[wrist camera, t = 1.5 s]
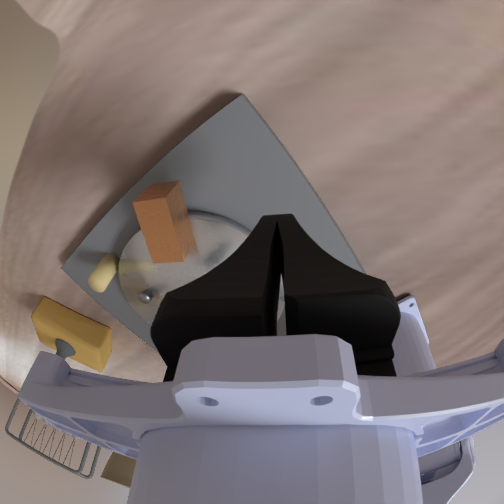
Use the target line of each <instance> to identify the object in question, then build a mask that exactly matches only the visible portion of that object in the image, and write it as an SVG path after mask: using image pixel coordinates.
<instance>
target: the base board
mask: <svg viewBox="0 0 504 504" xmlns="http://www.w3.org/2000/svg"><path fill="white" fill-rule="evenodd" d="M177 180H180V182H181V187H182V191H183V195H184V199H185V203H186V208H187V212H202V213H208V214H213V215H217V216H220V217H223V218H226V219H229V220H231V221H234V222H236V223H238V224H240V225H242V226H243V227H245V228H247V229H248V230H250V231H251V232H252V230H253V229H254V227H255V226H256V225H257V223H258V221H259V220H260V218H261V217H262V216H263V215H275V214H291V213H292V214H293V215H294V216H295V218H296V220H297V221H298V223H299V224H300V225H301V227H302V228H303V229H304V230H305V232H306V233H307V234H308V235H309V236H310V237H311V238H312V239H313V240H314V241H315V242H316V243H317V244H318V245H319V246H320V247H321V248H322V249H323V250H325V251H326V252H327V253H328V254H330V255H331V256H333V257H334V258H336V259H337V260H339V261H340V262H342V263H344V264H345V265H347V266H349V267H351V268H353V269H355V270H357V271H360V272H362V273H364V274H366V273H365V271H364V269H363V268H362V266H361V264H360V262H359V261H358V259H357V257H356V256H355V254H354V252H353V250H352V249H351V247H350V245H349V244H348V242H347V240H346V239H345V237H344V235H343V234H342V232H341V231H340V229H339V227H338V226H337V224H336V222H335V221H334V219H333V218H332V216H331V215H330V213H329V211H328V210H327V208H326V207H325V205H324V204H323V202H322V201H321V199H320V197H319V196H318V194H317V193H316V191H315V190H314V188H313V187H312V185H311V184H310V183H309V181H308V180H307V178H306V177H305V175H304V174H303V172H302V171H301V169H300V168H299V167H298V165H297V164H296V162H295V161H294V159H293V158H292V157H291V155H290V154H289V152H288V151H287V150H286V148H285V147H284V146H283V144H282V143H281V142H280V140H279V139H278V137H277V136H276V135H275V133H274V132H273V131H272V129H271V128H270V127H269V126H268V124H267V123H266V122H265V120H264V119H263V118H262V116H261V115H260V114H259V113H258V111H257V110H256V109H255V108H254V106H253V105H252V104H251V103H250V101H249V100H248V99H247V98H246V96H245V95H244V94H242V95H240V96H239V97H238V98H236V99H235V100H233V101H232V102H231V103H229V104H228V105H227V106H225V107H224V108H223V109H221V110H220V111H219V112H217V113H216V114H215V115H213V116H212V117H211V118H210V119H208V120H207V121H206V122H205V123H203V124H202V125H201V126H200V127H198V128H197V129H196V130H195V131H193V132H192V133H191V134H190V135H189V136H187V137H186V138H185V139H184V140H183V141H182V142H180V143H179V144H178V145H177V146H176V147H175V148H173V149H172V150H171V151H170V152H169V153H168V154H167V155H166V156H164V157H163V158H162V159H161V160H160V161H159V162H158V163H157V164H156V165H155V166H154V167H152V168H151V169H150V170H149V171H148V172H147V173H146V174H145V175H144V176H143V177H142V178H141V179H140V180H139V181H138V182H137V183H136V184H135V185H134V186H133V187H132V188H131V189H130V190H129V191H128V192H127V193H126V194H125V195H124V196H123V197H122V198H121V199H120V200H119V201H118V202H117V203H116V204H115V205H114V206H113V207H112V208H111V210H110V211H109V212H108V213H107V214H106V215H105V216H104V217H103V218H102V219H101V220H100V222H99V223H98V224H97V225H96V226H95V227H94V228H93V230H92V231H91V232H90V233H89V234H88V235H87V236H86V238H85V239H84V240H83V241H82V242H81V244H80V245H79V246H78V247H77V248H76V250H75V251H74V252H73V253H72V255H71V256H70V257H69V258H68V260H67V261H66V262H65V263H64V265H63V266H62V267H61V268H62V269H63V270H64V271H65V272H66V273H67V274H68V275H69V276H70V277H71V278H72V279H73V280H74V281H75V282H76V283H77V284H78V285H79V286H80V287H81V288H82V289H83V290H84V291H85V292H86V293H88V294H89V295H90V296H91V297H92V298H93V299H94V300H95V301H96V302H97V303H99V304H100V305H101V306H102V307H103V308H104V309H105V310H107V311H108V312H109V313H110V314H111V315H112V316H114V317H115V318H116V319H117V320H118V321H120V322H121V323H122V324H123V325H124V326H126V327H127V328H128V329H129V330H131V331H132V332H133V333H134V334H136V335H137V336H138V337H140V338H141V339H142V340H143V341H145V342H146V343H147V344H149V345H150V346H151V347H153V348H154V349H155V350H157V349H156V347H155V345H154V343H153V341H152V339H151V336H150V328H151V326H150V325H149V324H147V323H146V322H145V321H144V320H143V319H142V318H141V317H140V316H139V315H138V314H137V313H136V312H135V311H134V310H133V308H132V307H131V306H130V304H129V303H128V301H127V299H126V297H125V295H124V293H123V291H122V288H121V285H120V281H119V261H120V257H121V254H122V252H123V250H124V248H125V246H126V245H127V243H128V242H129V240H130V239H131V238H132V236H133V235H134V234H135V233H136V232H137V231H138V230H139V229H140V228H141V227H140V224H139V221H138V218H137V215H136V212H135V209H134V206H133V203H132V202H133V201H134V200H135V199H136V198H137V197H138V196H139V195H140V194H141V193H142V192H143V191H144V190H145V189H146V188H147V187H148V186H149V185H152V184H158V183H164V182H171V181H177ZM277 336H286V319H285V304H284V309H283V311H282V314H281V316H280V318H279V320H278V321H277ZM157 351H158V350H157Z"/></svg>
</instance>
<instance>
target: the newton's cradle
mask: <svg viewBox="0 0 504 504" xmlns="http://www.w3.org/2000/svg"><path fill="white" fill-rule="evenodd" d="M19 402H20V399H19V398H18V399H17V401H16V403H15V405H14V407H13V410H12V412H11V414H10V417H9V419H8V422H7V424H6V427H5V430H6V433H7V434H8V435H9V436H10V437H12V438H13V439H15V440H16V441H18V442H19V443H21V444H22V445H24V446H25V447H27V448H29V449H30V450H32V451H33V452H35V453H37V454H38V455H40V456H42V457H44V458H45V459H47V460H49V461H51V462H53V463H54V464H56V465H58V466H60V467H62V468H64V469H66V470H68V471H70V472H72V473H74V474H76V475H79V476H81V477H83V478H85V479H90V478H92V476H93V474H94V470H95V467H96V463H97V459H98V456H99V453H100V449H101V447H100V446H98V447H97V450H96V454H95V457H94V460H93V464H92V467H91V471H90V474H89V475H88V476H86V475H83V474H81V472H82V470H83V467H84V464H85V461H86V458H87V454H88V451H89V448H90V444H91V443H90V442H88V441H87V445H86V447H85V451H84V454H83V457H82V460H81V464H80V467H79V469H78V470H73V469H71V468H69V467H67V466H65V465H63V464H61V463H59V462H57V461H55V460H54V459H53V458H50V457H48V456H46V455H44V454H43V453H41V452H40V451H38V450H36V449H34V448H33V447H31V446H29V445H28V444H26V443H25V442H23V441H22V436H23V433H24V430H25V428H26V426H27V423H28V421H29V418H30V416H31V414H32V411H33V410H32V409H30V411H29V413H28V415H27V418H26V420H25V422H24V425H23V427H22V430H21V432H20V435H19V439H18V438H17V437H15V436H14V435H12V434H11V433H10V432H9V431H8V428H9V426H10V423H11V421H12V418H13V416H14V413H15V411H16V409H17V407H18V404H19ZM33 415H34V417H35V418H36V419H39V420H41V419H42V417H40V416H39V415H38V414H36V413H35V412H34V411H33ZM43 422H44V423H45V424H46V425H51V424H50V423H48V422H47V421H46V420H44V419H43ZM33 424H34V423H33ZM45 428H46V427H45ZM53 428H54V429H55V430H59V429H58V428H56V427H54V426H53ZM34 430H35V429H34ZM44 432H45V431H44ZM62 432H63V433H64V434H69V433H67V432H64V431H62ZM52 433H53V432H52ZM40 434H41V433H40ZM51 435H52V434H51ZM72 437H73V438H74V439H80V438H78V437H76V436H74V435H72ZM53 438H54V437H53ZM42 440H43V439H42ZM36 441H37V440H36ZM60 442H61V441H60ZM31 443H32V442H31ZM72 443H73V442H72ZM41 444H42V443H41ZM58 446H59V445H58ZM45 447H46V446H45ZM70 448H71V447H70ZM61 450H62V449H61ZM69 450H70V449H69ZM50 451H51V450H50ZM56 451H57V450H56ZM68 452H69V451H68ZM55 453H56V452H55ZM54 455H55V454H54ZM66 456H67V455H66ZM71 456H72V455H71ZM59 459H60V458H59ZM65 459H66V458H65ZM63 463H64V462H63Z"/></svg>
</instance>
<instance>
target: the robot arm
mask: <svg viewBox="0 0 504 504" xmlns="http://www.w3.org/2000/svg"><path fill="white" fill-rule="evenodd" d="M281 275H282V281H283V288H284V303H285V319H286V336H277V314H278V303H279V293H280V282H281ZM150 336H151V339H152V341H153V343H154V345H155V347H156V349H157V350H158V352H159V354H160V355H161V357H162V359H163V360H164V362H165V363H166V365H167V370H166V373H165V377H164V380H163V382H160V383H148V382H140V381H134V380H127V379H121V378H115V377H110V376H105V375H100V374H95V373H90V372H85V371H81V370H77V369H72V368H70V366H69V364H68V363H67V362H66V361H65V360H64V359H63V358H62V357H60V356H59V355H56V354H52V353H48V352H44V351H40V353H39V354H38V356H37V358H36V360H35V362H34V364H33V366H32V368H31V369H30V371H29V373H28V375H27V377H26V379H25V381H24V383H23V385H22V387H21V390H20V392H19V394H18V398H19V399H20V400H21V401H22V402H23V403H24V404H25V405H27V406H28V407H29V408H30V409H32V410H33V411H34V412H35V413H36V414H38V415H39V416H40V417H42V418H43V419H44V420H46V421H47V422H48V423H50V424H51V425H52V426H54V427H56V428H58V429H60V430H62V431H64V432H67V433H69V434H71V435H74V436H76V437H78V438H81V439H83V440H86V441H88V442H90V443H93V444H95V445H98V446H100V447H103V448H105V449H108V450H111V451H113V452H116V453H119V454H122V455H125V456H128V457H131V458H134V459H137V461H136V465H135V469H134V473H133V478H132V482H131V487H130V491H129V496H128V501H127V504H449V501H450V500H451V498H452V497H453V496H454V495H455V494H456V493H457V492H458V490H459V489H460V488H461V487H462V486H463V485H464V484H465V482H466V481H467V480H468V479H469V477H470V476H471V475H472V473H473V472H474V466H475V464H476V460H475V454H474V439H473V435H474V434H476V433H478V432H480V431H482V430H484V429H486V428H488V427H490V426H492V425H494V424H495V423H497V422H499V421H501V420H503V419H504V339H503V340H502V341H501V342H500V343H499V344H498V346H497V347H496V349H495V351H494V352H492V353H489V354H486V355H483V356H480V357H477V358H473V359H470V360H467V361H463V362H460V363H456V364H453V365H449V366H445V367H441V368H436V365H435V363H434V360H433V357H432V354H431V351H430V349H429V346H428V344H429V340H428V337H427V333H426V330H425V327H424V324H423V321H422V318H421V315H420V312H419V309H418V306H417V304H416V301H415V298H414V296H412V295H411V296H407V297H406V298H404V299H402V300H400V301H398V302H397V301H396V299H395V297H394V295H393V293H392V291H391V290H390V288H389V287H388V285H387V283H386V281H383V280H381V279H378V278H375V277H372V276H369V275H366V274H364V273H362V272H360V271H357V270H355V269H353V268H351V267H349V266H347V265H345V264H344V263H342V262H340V261H339V260H337V259H336V258H334V257H333V256H331V255H330V254H328V253H327V252H326V251H325V250H323V249H322V248H321V247H320V246H319V245H318V244H317V243H316V242H315V241H314V240H313V239H312V238H311V237H310V236H309V235H308V234H307V233H306V232H305V230H304V229H303V228H302V227H301V225H300V224H299V223H298V221H297V220H296V218H295V216H294V215H293V214H292V213H291V214H275V215H263V216H262V217H261V218H260V220H259V221H258V223H257V225H256V226H255V227H254V229H253V230H252V232H251V233H250V234H249V236H248V237H247V238H246V239H245V241H244V242H243V243H242V244H241V245H240V246H239V247H238V249H237V250H236V251H235V252H234V253H233V254H231V255H230V256H229V257H228V258H227V259H226V260H224V261H223V262H222V263H220V264H219V265H218V266H216V267H215V268H213V269H212V270H211V271H209V272H208V273H206V274H204V275H203V276H201V277H199V278H197V279H195V280H194V281H192V282H190V283H188V284H186V285H183V286H181V287H179V288H176V289H174V290H172V291H169V292H167V293H166V294H165V296H164V298H163V300H162V302H161V303H160V306H159V308H158V310H157V313H156V316H155V318H154V321H153V323H152V326H151V328H150ZM458 441H459V442H460V447H459V442H458Z"/></svg>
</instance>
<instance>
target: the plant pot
mask: <svg viewBox="0 0 504 504" xmlns="http://www.w3.org/2000/svg"><path fill="white" fill-rule="evenodd" d="M136 461H137V459H134V458H131V457H128V456H125V455H122V454H119V453H116V452H113V453H112V455H111V456H110V459H109V460H108V462H107V464H106V466H105V468H104V471H103V473H102V475H101V478H104V479H106V480H108V481H111V482H114V483H117V484H119V485H122V486H125V487H128V488H130V487H131V482H132V478H133V473H134V469H135V465H136Z"/></svg>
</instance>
